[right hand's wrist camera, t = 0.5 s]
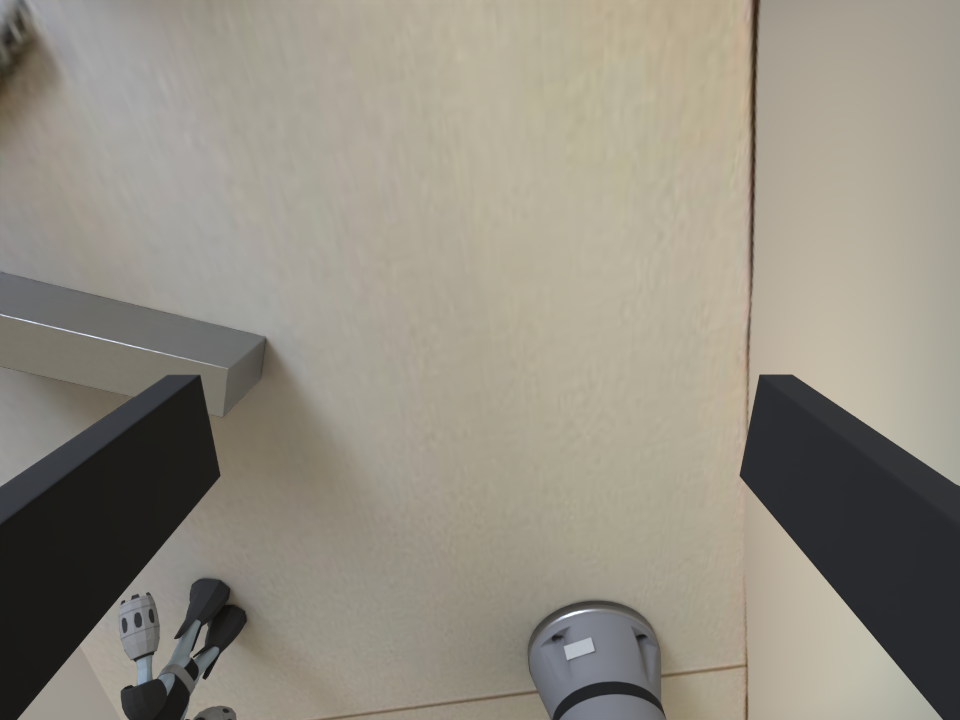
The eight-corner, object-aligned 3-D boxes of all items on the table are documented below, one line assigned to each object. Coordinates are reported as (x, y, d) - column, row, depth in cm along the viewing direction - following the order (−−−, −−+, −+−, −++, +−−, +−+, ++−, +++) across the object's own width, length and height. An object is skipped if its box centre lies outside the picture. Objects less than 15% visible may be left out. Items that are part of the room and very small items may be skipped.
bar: (266, 336, 49) (228, 368, 41) (260, 379, 50) (223, 417, 43) (-48, 260, 46) (-148, 279, 39) (-44, 307, 48) (-139, 335, 40)
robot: (277, 659, 63) (192, 869, 45) (241, 668, 64) (142, 879, 45) (196, 532, 57) (57, 717, 38) (156, 544, 57) (0, 731, 38)
